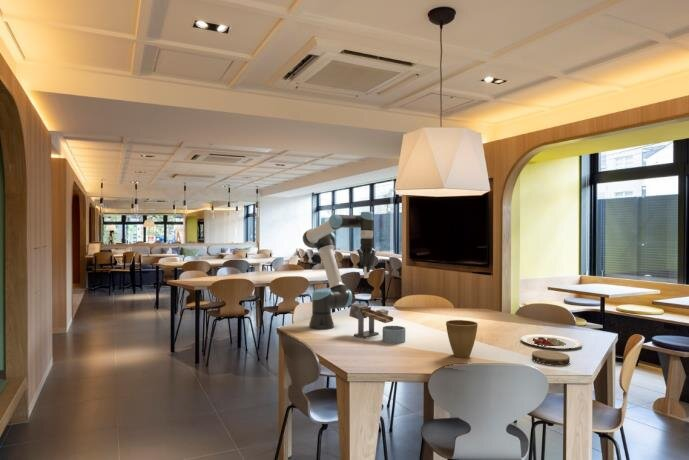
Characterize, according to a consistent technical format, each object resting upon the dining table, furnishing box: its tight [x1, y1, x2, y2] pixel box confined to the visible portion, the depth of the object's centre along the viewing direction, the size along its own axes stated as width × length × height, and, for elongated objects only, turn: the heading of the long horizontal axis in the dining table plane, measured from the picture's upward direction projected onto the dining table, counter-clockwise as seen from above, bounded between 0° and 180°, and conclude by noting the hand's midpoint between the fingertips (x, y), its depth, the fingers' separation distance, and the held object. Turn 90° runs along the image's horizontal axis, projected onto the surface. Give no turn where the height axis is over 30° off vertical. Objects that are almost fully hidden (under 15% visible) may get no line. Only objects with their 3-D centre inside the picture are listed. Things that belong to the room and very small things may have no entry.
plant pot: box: [445, 319, 479, 359], centre depth 219 cm, size 15×15×16 cm
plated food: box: [520, 333, 583, 350], centre depth 244 cm, size 30×30×3 cm
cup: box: [382, 325, 406, 345], centre depth 247 cm, size 12×12×7 cm
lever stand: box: [353, 313, 380, 339], centre depth 260 cm, size 8×13×14 cm, turn 140°
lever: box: [348, 302, 394, 324], centre depth 260 cm, size 25×14×7 cm, turn 50°
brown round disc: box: [531, 349, 571, 366], centre depth 211 cm, size 16×16×3 cm
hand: (366, 277), depth 268 cm, fingers closed
